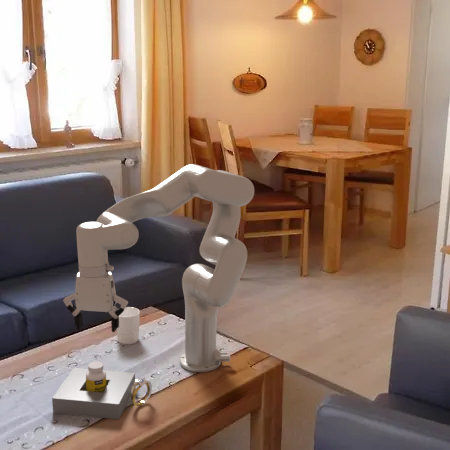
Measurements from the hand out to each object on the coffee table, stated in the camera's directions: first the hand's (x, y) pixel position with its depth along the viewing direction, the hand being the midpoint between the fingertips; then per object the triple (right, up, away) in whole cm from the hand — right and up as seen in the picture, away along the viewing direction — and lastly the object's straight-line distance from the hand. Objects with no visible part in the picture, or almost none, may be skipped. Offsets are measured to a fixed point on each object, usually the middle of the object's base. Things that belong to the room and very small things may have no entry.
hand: (97, 328), depth 170 cm
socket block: (-1, -20, +4) cm, 21 cm away
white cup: (+2, -10, +39) cm, 40 cm away
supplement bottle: (-1, -20, +4) cm, 20 cm away
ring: (+12, -21, +2) cm, 24 cm away
